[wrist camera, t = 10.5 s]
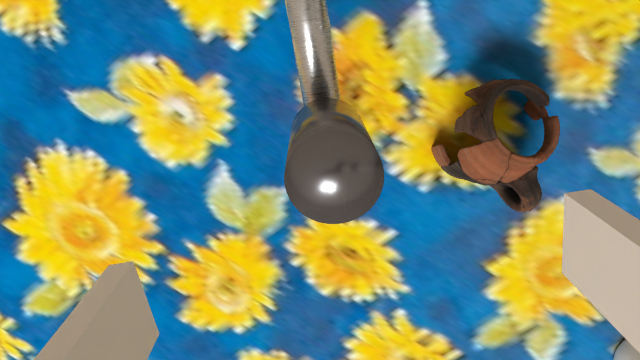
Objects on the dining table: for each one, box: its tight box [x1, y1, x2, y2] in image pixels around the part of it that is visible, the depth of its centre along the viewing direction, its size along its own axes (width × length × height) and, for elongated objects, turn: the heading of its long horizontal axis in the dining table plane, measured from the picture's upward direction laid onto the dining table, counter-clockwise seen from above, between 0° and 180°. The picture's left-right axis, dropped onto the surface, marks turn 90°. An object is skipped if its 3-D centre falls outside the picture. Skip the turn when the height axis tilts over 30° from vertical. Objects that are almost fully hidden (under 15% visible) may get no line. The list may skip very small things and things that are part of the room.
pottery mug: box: [432, 79, 560, 212], centre depth 40 cm, size 12×10×8 cm
